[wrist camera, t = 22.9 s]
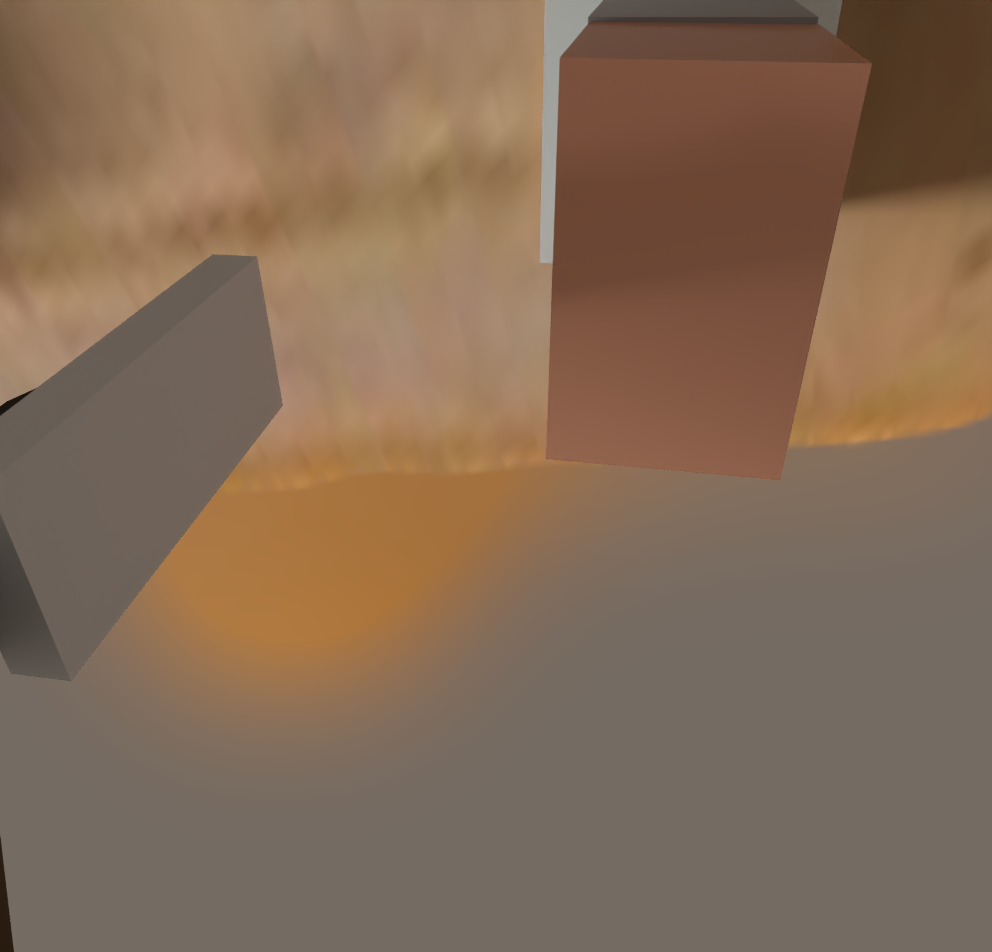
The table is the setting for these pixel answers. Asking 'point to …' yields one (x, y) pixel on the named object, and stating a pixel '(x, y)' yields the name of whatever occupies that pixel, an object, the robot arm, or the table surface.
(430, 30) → the table surface
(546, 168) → the baseplate
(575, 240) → the terracotta brick
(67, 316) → the table surface
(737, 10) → the charcoal brick
